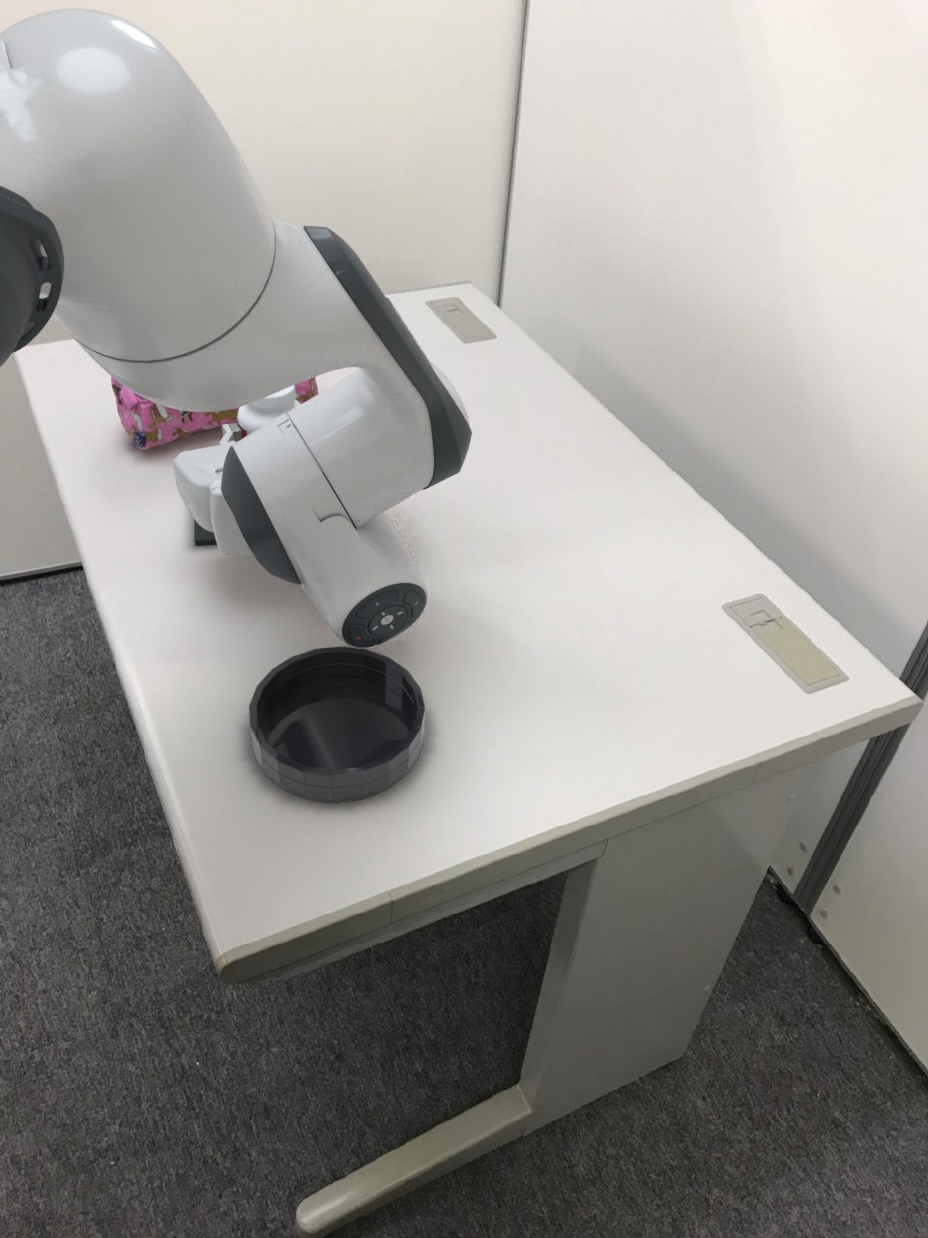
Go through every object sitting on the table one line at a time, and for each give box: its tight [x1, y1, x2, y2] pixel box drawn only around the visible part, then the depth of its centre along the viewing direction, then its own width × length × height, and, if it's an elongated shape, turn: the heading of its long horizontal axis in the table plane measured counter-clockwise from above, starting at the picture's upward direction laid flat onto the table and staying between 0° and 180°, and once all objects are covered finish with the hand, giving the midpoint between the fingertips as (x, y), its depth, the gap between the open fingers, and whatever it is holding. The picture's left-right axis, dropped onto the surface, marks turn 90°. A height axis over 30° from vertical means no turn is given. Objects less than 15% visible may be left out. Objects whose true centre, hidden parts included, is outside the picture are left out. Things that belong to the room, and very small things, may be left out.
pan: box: [248, 645, 426, 803], centre depth 75 cm, size 13×13×3 cm
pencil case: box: [110, 375, 319, 451], centre depth 105 cm, size 21×9×9 cm, turn 121°
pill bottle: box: [237, 385, 301, 439], centre depth 91 cm, size 6×6×11 cm
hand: (269, 422), depth 91 cm, fingers closed on pill bottle, 6 cm apart
